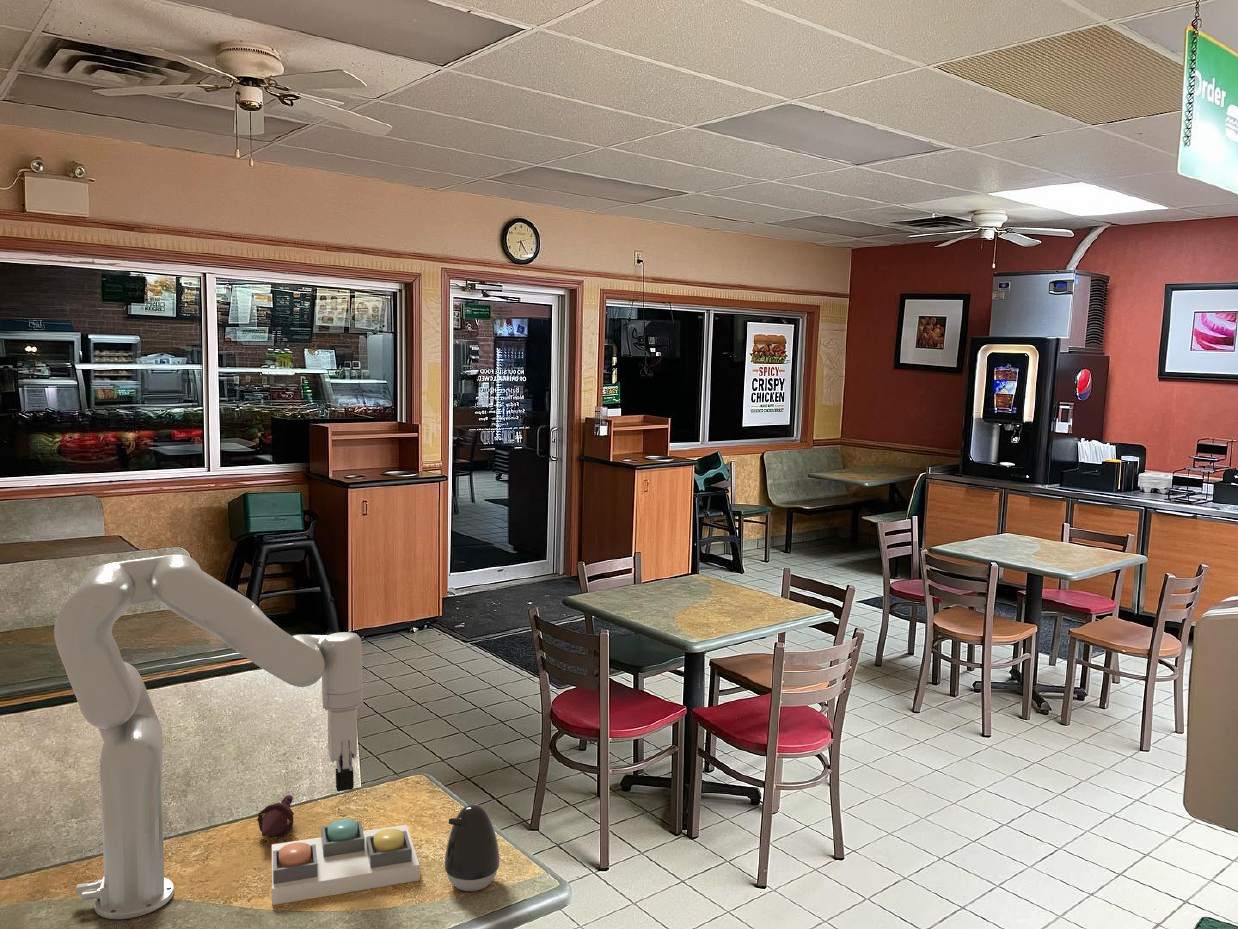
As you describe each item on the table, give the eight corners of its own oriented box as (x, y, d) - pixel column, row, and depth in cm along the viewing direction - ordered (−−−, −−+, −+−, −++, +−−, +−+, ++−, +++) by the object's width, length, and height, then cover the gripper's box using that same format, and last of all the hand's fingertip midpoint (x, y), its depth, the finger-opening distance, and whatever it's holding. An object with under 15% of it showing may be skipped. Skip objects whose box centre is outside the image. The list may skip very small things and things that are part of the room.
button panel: (272, 905, 164) (272, 875, 163) (271, 859, 179) (271, 832, 179) (419, 880, 173) (419, 852, 172) (406, 838, 189) (406, 813, 188)
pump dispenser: (432, 884, 172) (432, 806, 170) (476, 864, 179) (477, 789, 178) (466, 906, 165) (466, 824, 163) (510, 884, 172) (511, 806, 171)
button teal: (328, 846, 176) (328, 834, 176) (326, 833, 181) (326, 821, 181) (358, 842, 178) (358, 830, 178) (356, 829, 183) (356, 817, 183)
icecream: (286, 822, 181) (309, 795, 196) (249, 813, 181) (275, 787, 196) (276, 856, 181) (300, 827, 196) (240, 847, 181) (266, 818, 196)
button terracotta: (279, 872, 166) (278, 859, 166) (278, 857, 171) (278, 845, 171) (311, 867, 168) (311, 854, 168) (310, 852, 173) (310, 840, 173)
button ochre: (375, 857, 172) (375, 845, 172) (372, 843, 177) (372, 831, 177) (405, 852, 174) (405, 840, 174) (401, 838, 179) (401, 827, 179)
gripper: (320, 687, 183) (322, 776, 185) (324, 712, 169) (327, 808, 171) (359, 683, 186) (361, 771, 187) (366, 707, 172) (368, 802, 173)
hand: (344, 788), depth 179 cm, fingers closed
